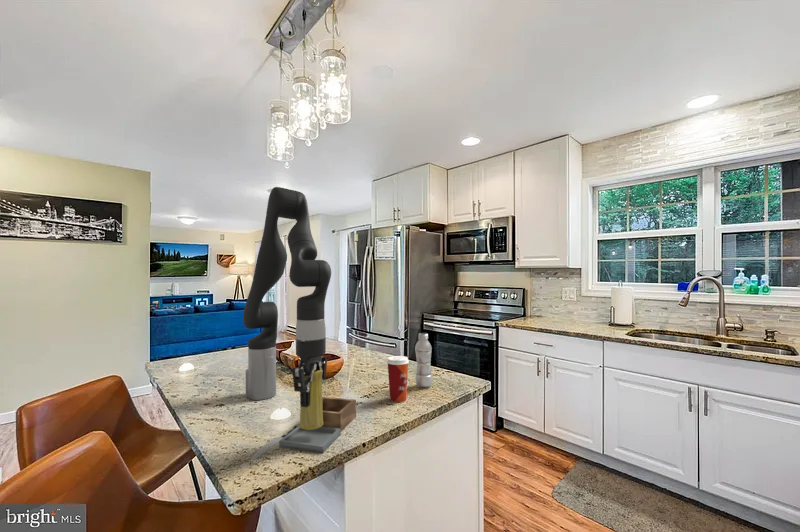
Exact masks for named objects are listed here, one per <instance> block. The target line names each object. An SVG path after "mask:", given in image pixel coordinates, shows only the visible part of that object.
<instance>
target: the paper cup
mask: <svg viewBox="0 0 800 532" xmlns="http://www.w3.org/2000/svg"><path fill="white" fill-rule="evenodd" d="M409 363H410V360H409V358H408V356H406V355H405V356H404V355H392V356H388V358H387V360H386V364H387V372H388V373H387V374H388V385H389V386H388V388H389V389H388V390H389V399H390V402H394V403H402V402H406V400H407V395H408V378H409V376H408V375H409Z"/></svg>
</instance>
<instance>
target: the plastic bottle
mask: <svg viewBox="0 0 800 532" xmlns="http://www.w3.org/2000/svg"><path fill="white" fill-rule="evenodd" d="M417 338H418V341H417V342H416V344H415V345H414V346H415V347H414V351H415V358H416V371H415V372H416V373H415V384H416V386H417V387H418V388H429V387H431V386H432V384H433V374H432V367H431V364H432V363H431V361H432V359H431V358H432V349H433V347H432V345H431V343H430V341H429V340H428V339H429V333H427V332H420V333H418V337H417Z"/></svg>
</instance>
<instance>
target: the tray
mask: <svg viewBox="0 0 800 532" xmlns="http://www.w3.org/2000/svg"><path fill="white" fill-rule="evenodd" d="M297 426H298V427H297V428H295V429H294V430H293V431H291V432H290V433H289V434H288V435H286V436H285V437H284V438H282V439H281V440H280V441H279V443H278V446H279V448H284V449H289V448H290V450H297V451H304V452H305V451H306V452H312V453H320V454H324V453H325V452H326V451H327V450H328V449H329V447H331V445H332V444H334V443H335V441H336V440H337V439H338V438H339V437H340V436H341V435H342V432H341V429H339V428H330V427H320V428H318V429H314V430H303V429H301V428H300V427H299V425H297Z"/></svg>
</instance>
